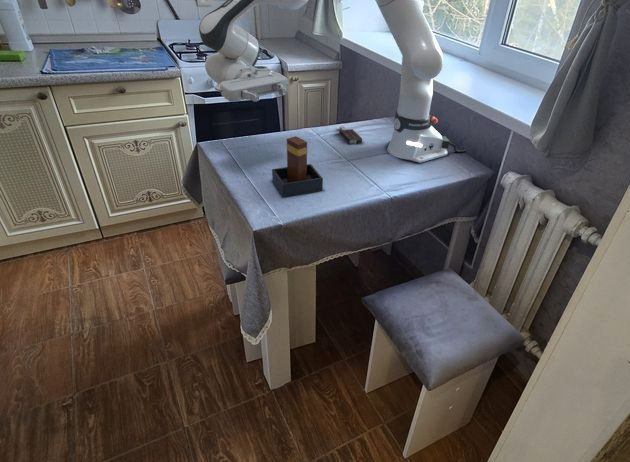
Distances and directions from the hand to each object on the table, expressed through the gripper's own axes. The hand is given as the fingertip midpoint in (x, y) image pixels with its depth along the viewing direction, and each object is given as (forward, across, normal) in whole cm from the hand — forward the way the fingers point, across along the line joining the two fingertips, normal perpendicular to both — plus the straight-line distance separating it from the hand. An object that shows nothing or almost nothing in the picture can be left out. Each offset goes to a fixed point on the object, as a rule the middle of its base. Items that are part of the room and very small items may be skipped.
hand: (271, 95), depth 122 cm
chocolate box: (+12, -1, +23) cm, 26 cm away
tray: (+12, -1, +23) cm, 27 cm away
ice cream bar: (-5, +38, +25) cm, 46 cm away
